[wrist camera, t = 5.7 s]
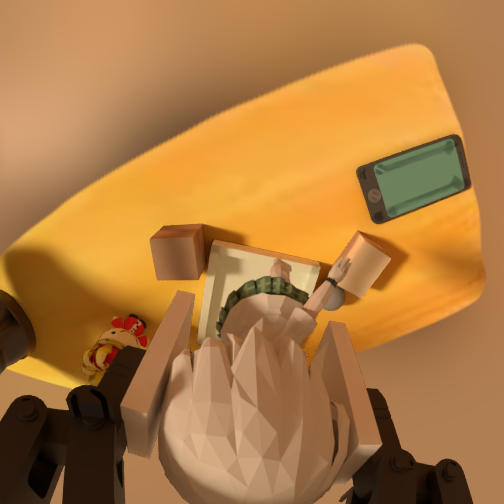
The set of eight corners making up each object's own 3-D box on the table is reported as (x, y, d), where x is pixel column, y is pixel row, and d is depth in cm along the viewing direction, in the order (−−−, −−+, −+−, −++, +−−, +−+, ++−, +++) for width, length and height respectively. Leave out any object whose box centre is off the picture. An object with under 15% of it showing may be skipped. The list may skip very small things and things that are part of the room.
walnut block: (169, 262, 40) (157, 280, 35) (163, 225, 38) (149, 239, 33) (207, 261, 39) (198, 279, 35) (202, 223, 37) (192, 237, 33)
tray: (198, 336, 43) (196, 343, 42) (214, 238, 38) (211, 244, 36) (287, 354, 44) (287, 362, 42) (318, 261, 38) (320, 267, 36)
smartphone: (356, 169, 33) (459, 133, 30) (353, 168, 34) (454, 133, 31) (375, 227, 35) (472, 188, 32) (372, 224, 36) (467, 186, 33)
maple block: (329, 269, 39) (334, 283, 35) (357, 230, 36) (366, 241, 33) (353, 283, 39) (360, 298, 35) (380, 246, 37) (391, 258, 33)
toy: (167, 320, 43) (130, 396, 29) (147, 349, 45) (112, 420, 31) (126, 292, 42) (75, 359, 28) (109, 323, 44) (63, 388, 30)
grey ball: (312, 298, 40) (315, 313, 37) (320, 275, 39) (324, 288, 36) (337, 303, 40) (342, 318, 37) (346, 280, 39) (351, 294, 36)
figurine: (239, 345, 22) (207, 553, 8) (173, 290, 20) (68, 495, 6) (355, 250, 19) (472, 470, 5) (288, 178, 17) (351, 368, 3)
